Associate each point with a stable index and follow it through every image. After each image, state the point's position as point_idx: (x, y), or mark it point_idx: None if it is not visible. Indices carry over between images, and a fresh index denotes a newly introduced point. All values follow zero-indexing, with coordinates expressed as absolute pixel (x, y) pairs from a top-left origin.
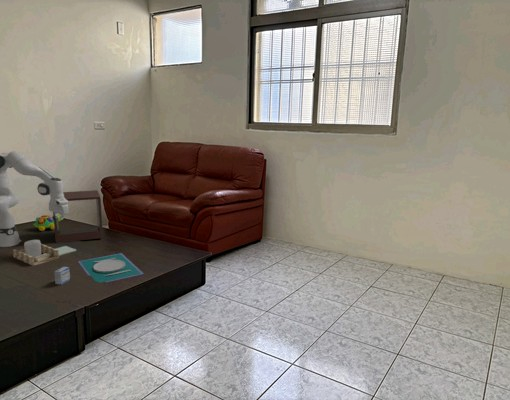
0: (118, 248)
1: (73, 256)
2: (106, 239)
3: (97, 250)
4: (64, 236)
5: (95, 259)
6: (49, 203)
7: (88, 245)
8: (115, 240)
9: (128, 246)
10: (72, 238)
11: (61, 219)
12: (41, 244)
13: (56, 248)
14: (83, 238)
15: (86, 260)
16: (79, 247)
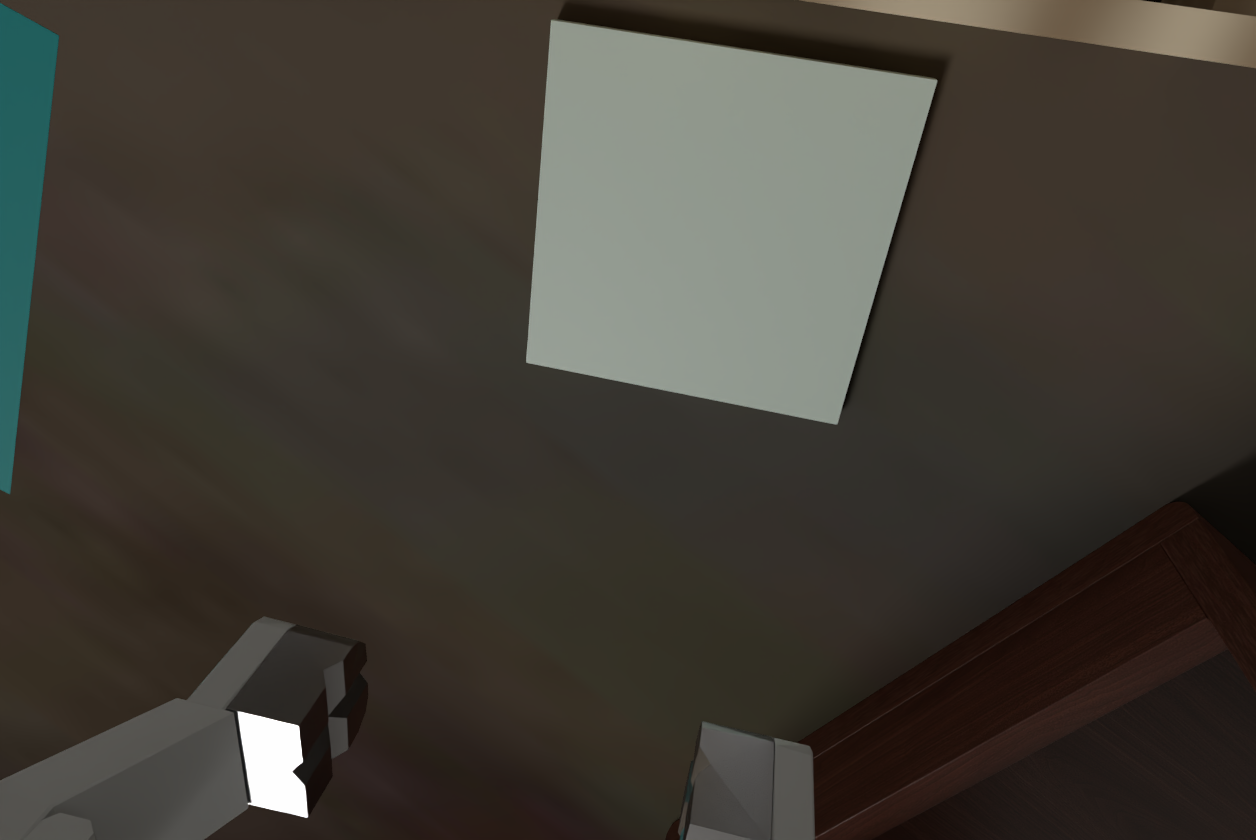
0: (190, 615)
1: (335, 145)
2: (578, 796)
3: (307, 479)
4: (1082, 647)
5: (2, 212)
6: None
7: (579, 577)
8: (459, 794)
9: (174, 693)
10: (964, 672)
11: (262, 628)
12: (1084, 7)
13: (880, 260)
14: (838, 733)
15: (39, 117)
16: (617, 475)
